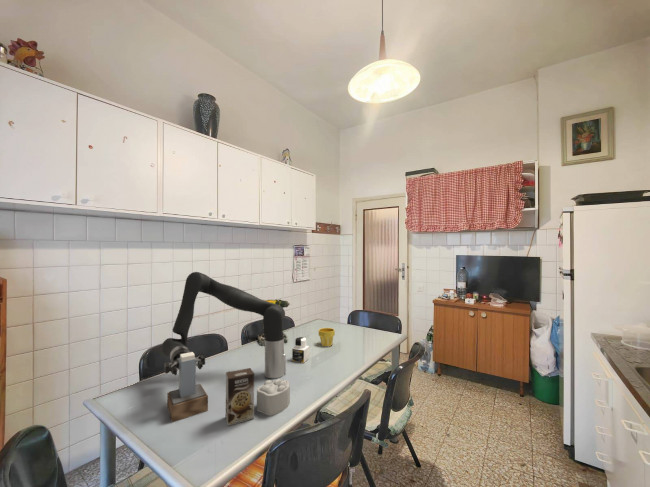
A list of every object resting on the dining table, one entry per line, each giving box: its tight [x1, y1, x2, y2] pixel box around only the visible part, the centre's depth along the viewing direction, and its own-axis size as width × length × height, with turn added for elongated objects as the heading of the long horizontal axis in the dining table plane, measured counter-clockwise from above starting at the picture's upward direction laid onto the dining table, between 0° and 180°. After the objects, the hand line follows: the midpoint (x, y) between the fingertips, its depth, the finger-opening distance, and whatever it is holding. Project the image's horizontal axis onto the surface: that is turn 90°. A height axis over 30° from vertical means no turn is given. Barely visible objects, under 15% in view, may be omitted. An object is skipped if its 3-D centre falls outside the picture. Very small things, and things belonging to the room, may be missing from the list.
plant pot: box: [318, 327, 336, 347], centre depth 179 cm, size 10×10×10 cm
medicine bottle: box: [291, 336, 310, 364], centre depth 155 cm, size 7×7×12 cm
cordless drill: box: [257, 299, 291, 347], centre depth 189 cm, size 18×19×28 cm
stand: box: [166, 383, 209, 423], centre depth 107 cm, size 12×12×6 cm
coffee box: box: [225, 367, 255, 426], centre depth 101 cm, size 9×6×16 cm
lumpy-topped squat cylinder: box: [256, 378, 291, 417], centre depth 109 cm, size 10×13×9 cm
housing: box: [178, 351, 197, 398], centre depth 107 cm, size 5×5×14 cm
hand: (188, 369), depth 106 cm, fingers open, 8 cm apart
